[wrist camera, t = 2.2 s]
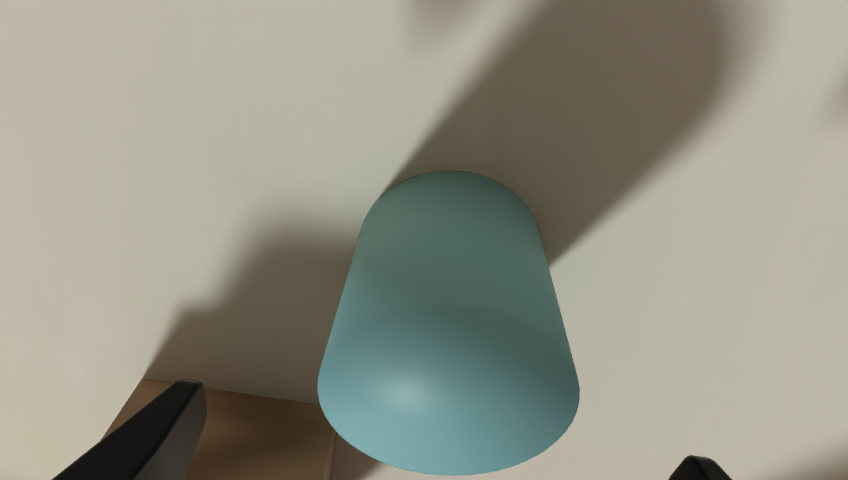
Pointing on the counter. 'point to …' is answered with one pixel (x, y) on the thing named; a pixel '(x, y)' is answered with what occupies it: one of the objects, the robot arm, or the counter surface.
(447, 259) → the teal cylinder
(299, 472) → the walnut base block
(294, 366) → the counter surface
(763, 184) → the counter surface
